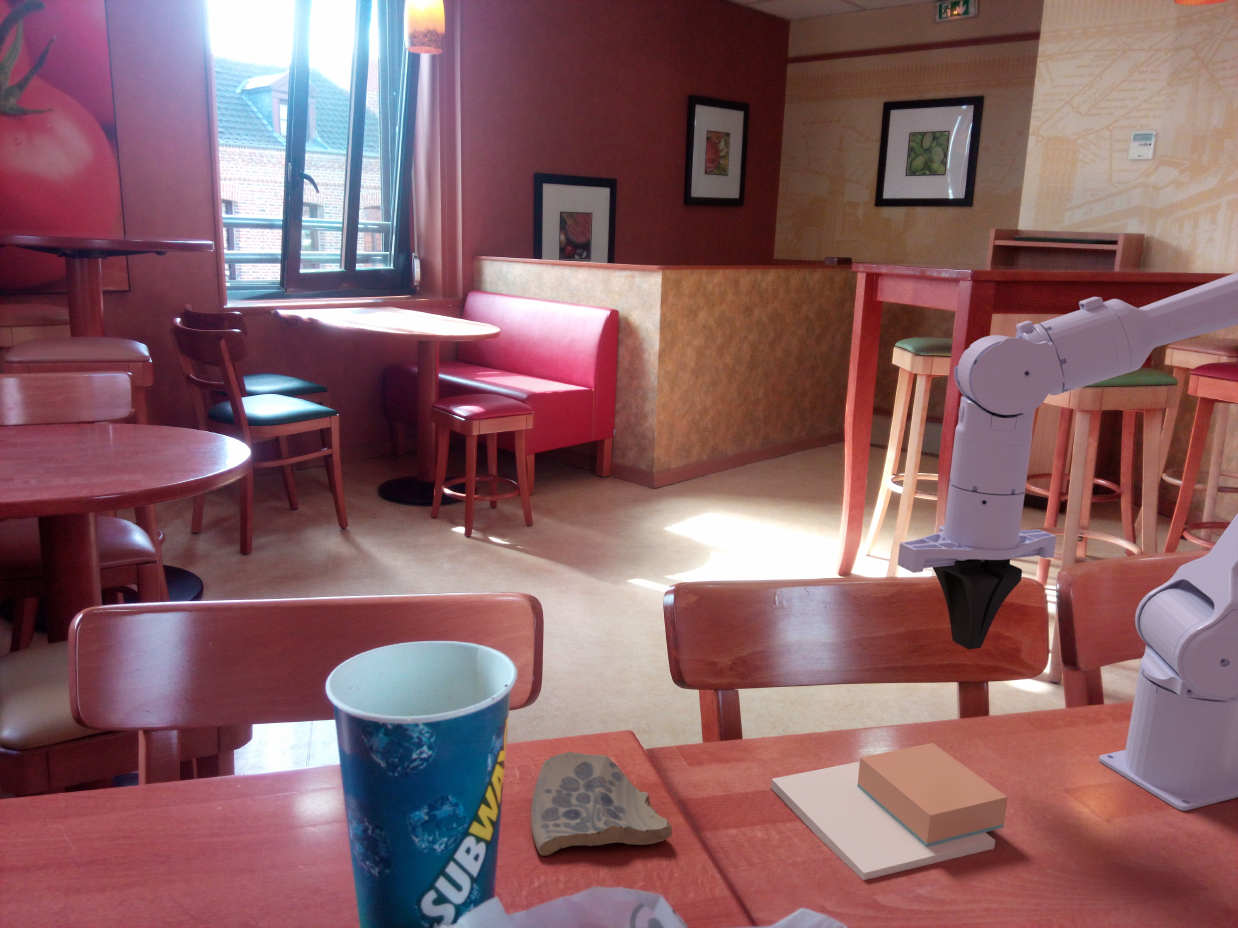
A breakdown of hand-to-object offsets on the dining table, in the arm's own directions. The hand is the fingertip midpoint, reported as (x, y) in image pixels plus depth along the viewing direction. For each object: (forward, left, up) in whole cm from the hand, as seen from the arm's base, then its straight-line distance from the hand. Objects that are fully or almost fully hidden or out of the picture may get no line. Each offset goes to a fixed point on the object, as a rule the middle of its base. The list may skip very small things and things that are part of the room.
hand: (966, 644), depth 77 cm
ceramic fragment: (+27, +1, -10) cm, 29 cm away
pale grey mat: (+12, +6, -10) cm, 17 cm away
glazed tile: (+5, +7, -8) cm, 12 cm away
